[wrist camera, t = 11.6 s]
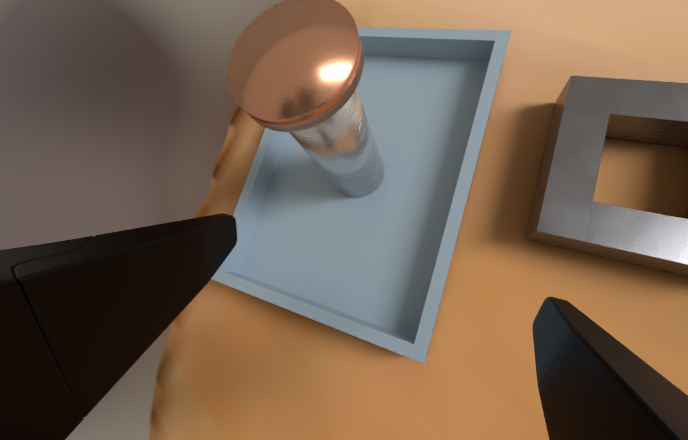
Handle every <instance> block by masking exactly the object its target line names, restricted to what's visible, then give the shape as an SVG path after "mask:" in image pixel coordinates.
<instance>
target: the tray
mask: <svg viewBox="0 0 688 440" xmlns="http://www.w3.org/2000/svg"><path fill="white" fill-rule="evenodd" d="M357 30H358V33H359V37H360V41H361V44H362V48H363V53H364V65H363V72H362V75H361V79H360V81H359V84H358V86H357V88H356V89H357V92H358V95H359V97H360V100H361V103H362V106H363V108H364V111H365V114H366V117H367V119H368V122H369V125H370V127H371V130H372V133H373V136H374V138H375V141H376V144H377V147H378V149H379V152H380V155H381V158H382V160H383V163H384V167H385V174H384V178H383V181H382V183H381V184H380V186H379V187H378V188H377V189H376V190H375V191H374V192H373V193H371V194H369V195H367V196H364V197H358V198H357V197H350V196H347V195H345V194H343V193H342V192H341V191H340V190H339V189H338V188H337V187H336V186H335V185H334V183H333V182H332V181H331V180H330V179H329V178H328V177H327V175H326V174H325V173H324V172H323V171H322V170H321V168H320V167H319V166H318V165H317V164H316V163H315V162H314V160H313V159H312V158H311V157H310V156H309V155H308V153H307V152H306V151H305V150H304V149H303V148H302V147H301V145H300V144H299V143H298V142H297V141H296V140H295V138H294V137H293V136H292V135H291V134H290V133H289V132H279V131H274V130H270V129H268V128H265V131H264V133H263V136H262V139H261V141H260V144H259V147H258V149H257V152H256V155H255V158H254V160H253V163H252V166H251V168H250V171H249V174H248V176H247V179H246V182H245V184H244V187H243V190H242V192H241V195H240V198H239V201H238V203H237V206H236V209H235V211H234V214H233V216H234V217H235V219H236V226H237V243H236V246H235V247H234V249H233V250H232V251H231V253H230V254H229V255H228V257H227V258H226V259H225V261H224V262H223V263H222V265H221V266H220V267H219V269H218V270H217V272H216V273H215V274H214V276H213V277H212V278H211V279H212V280H215V281H217V282H220V283H222V284H225V285H227V286H230V287H232V288H235V289H237V290H240V291H242V292H245V293H247V294H250V295H252V296H255V297H257V298H260V299H262V300H265V301H267V302H270V303H272V304H275V305H277V306H280V307H282V308H285V309H287V310H290V311H292V312H295V313H297V314H300V315H302V316H305V317H308V318H310V319H313V320H315V321H318V322H320V323H323V324H325V325H328V326H330V327H333V328H335V329H338V330H340V331H343V332H345V333H348V334H350V335H353V336H355V337H358V338H360V339H363V340H365V341H368V342H370V343H373V344H375V345H378V346H380V347H383V348H385V349H388V350H390V351H393V352H395V353H398V354H400V355H403V356H405V357H408V358H410V359H413V360H416V361H418V362H421V363H423V364H424V363H425V359H426V355H427V351H428V347H429V344H430V340H431V336H432V332H433V328H434V324H435V320H436V317H437V313H438V309H439V305H440V301H441V297H442V293H443V290H444V286H445V282H446V278H447V274H448V270H449V267H450V263H451V259H452V255H453V251H454V247H455V243H456V240H457V236H458V232H459V228H460V224H461V220H462V216H463V213H464V209H465V205H466V201H467V197H468V193H469V190H470V186H471V182H472V178H473V174H474V170H475V166H476V163H477V159H478V155H479V151H480V147H481V143H482V139H483V136H484V132H485V128H486V124H487V120H488V116H489V113H490V109H491V105H492V101H493V97H494V93H495V89H496V86H497V82H498V78H499V74H500V70H501V66H502V62H503V59H504V55H505V51H506V47H507V43H508V39H509V36H510V32H511V31H500V30H457V29H414V28H372V27H357Z"/></svg>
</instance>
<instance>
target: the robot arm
mask: <svg viewBox="0 0 688 440" xmlns="http://www.w3.org/2000/svg"><path fill="white" fill-rule="evenodd" d="M236 243H237V226H236V219H235V217H234V216H231V215H227V214H216V215H210V216H204V217H198V218H193V219H187V220H182V221H175V222H170V223H164V224H158V225H153V226H147V227H141V228H135V229H130V230H124V231H118V232H113V233H107V234H101V235H96V236H94V237H93V236H89V237H83V238H78V239H72V240H65V241H59V242H54V243H47V244H40V245H33V246H27V247H19V248H12V249H5V250H0V440H65V439H66V438H67V437H68V436H69V435H70V433H71V432H72V431H73V430H74V429H75V428H76V427H77V426H78V425H79V424H80V422H81V421H82V420H83V418H84V417H86V416H87V415H88V413H89V412H90V411H91V410H92V409H93V408H94V407H95V406H96V405H97V404H98V402H99V401H100V400H101V399H102V398H103V397H104V396H105V395H106V394H107V393H108V392H109V390H110V389H111V388H112V387H113V386H114V385H115V384H116V383H117V382H118V381H119V380H120V378H121V377H122V376H123V375H124V374H125V373H126V372H127V370H129V369H130V367H131V366H132V365H133V364H134V363H135V362H136V361H137V360H138V359H139V358H140V357H141V355H142V354H143V353H144V352H145V351H146V350H147V349H148V348H149V347H150V346H151V345H152V343H153V342H154V341H155V340H156V339H157V338H158V337H159V336H160V335H161V334H162V332H163V331H164V330H165V329H166V328H167V327H168V326H169V325H170V324H171V323H172V322H173V320H174V319H175V318H176V317H177V316H178V315H179V314H180V313H181V312H182V311H183V310H184V308H185V307H186V306H187V305H188V304H189V303H190V302H191V301H192V300H193V299H194V297H195V296H196V295H197V294H198V293H199V292H200V291H201V290H202V289H203V288H204V286H205V285H206V284H207V283H208V282H209V281H210V279H211V278H212V277H213V276H214V274H215V273H216V272H217V270H218V269H219V267H220V266H221V265H222V263H223V262H224V261H225V259H226V258H227V257H228V255H229V254H230V253H231V251H232V250H233V249H234V247H235V246H236ZM533 339H534V350H535V361H536V372H537V381H538V388H539V393H540V398H541V403H542V408H543V412H544V417H545V421H546V426H547V431H548V435H549V440H688V396H687V395H686V394H685V393H684V392H682V391H681V390H680V389H679V388H677V387H676V386H675V385H673V384H672V383H671V382H670V381H668V380H667V379H666V378H665V377H663V376H662V375H661V374H659V373H658V372H657V371H656V370H654V369H653V368H652V367H651V366H649V365H648V364H647V363H646V362H644V361H643V360H642V359H640V358H639V357H638V356H637V355H635V354H634V353H633V352H632V351H630V350H629V349H628V348H626V347H625V346H624V345H623V344H621V343H620V342H619V341H618V340H616V339H615V338H614V337H612V336H611V335H610V334H609V333H607V332H606V331H605V330H604V329H602V328H601V327H600V326H599V325H597V324H596V323H595V322H593V321H592V320H591V319H590V318H588V317H587V316H586V315H585V314H583V313H582V312H581V311H579V310H578V309H577V308H576V307H574V306H573V305H572V304H571V303H569V302H568V301H566V300H562V299H558V298H554V297H547V298H546V299H545V300H544V302H543V304H542V306H541V308H540V310H539V312H538V314H537V316H536V318H535V320H534V322H533Z"/></svg>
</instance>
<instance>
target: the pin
mask: <svg viewBox="0 0 688 440" xmlns="http://www.w3.org/2000/svg"><path fill="white" fill-rule="evenodd" d="M363 65H364V53H363V48H362V44H361V41H360V37H359V33H358V30H357V26H356V24H355V21H354V19H353V17H352V16H351V14H350V13H349V11H348V10H347V9H346V8H345V7H344V6H342V5H341V4H340V3H338V2H336V1H334V0H285V1H283V2H280V3H278V4H276V5H274V6H272V7H271V8H269V9H267V10H266V11H264V12H263V13H262V14H260V15H259V16H258V17H257V18H255V19H254V21H252V22H251V23H250V24H249V25H248V27H247V28H246V29H245V30H244V31H243V33H242V34H241V35H240V37H239V39H238V40H237V42H236V44H235V46H234V48H233V50H232V52H231V55H230V58H229V63H228V69H227V81H228V85H229V89H230V92H231V94H232V96H233V98H234V100H235V101H236V102H237V103H238V105H239V106H240V107H241V108H242V109H243V110H244V111H245V112H246V113H247V114H248V115H249V116H250V117H251V118H252V119H253V120H255V121H256V122H257V123H258V124H260V125H261V126H263V127H265V128H268V129H270V130H274V131H279V132H289V133H290V134H291V135H292V136H293V137H294V138H295V140H296V141H297V142H298V143H299V144H300V145H301V147H302V148H303V149H304V150H305V151H306V152H307V153H308V155H309V156H310V157H311V158H312V159H313V160H314V162H315V163H316V164H317V165H318V166H319V167H320V168H321V170H322V171H323V172H324V173H325V174H326V175H327V177H328V178H329V179H330V180H331V181H332V182H333V183H334V185H335V186H336V187H337V188H338V189H339V190H340V191H341V192H342V193H343V194H345V195H347V196H350V197H357V198H358V197H364V196H367V195H369V194H371V193H373V192H374V191H375V190H376V189H377V188H378V187H379V186H380V184H381V183H382V181H383V178H384V174H385V167H384V163H383V160H382V158H381V155H380V152H379V149H378V147H377V144H376V141H375V138H374V136H373V133H372V130H371V127H370V125H369V122H368V119H367V117H366V114H365V111H364V108H363V106H362V103H361V100H360V97H359V95H358V92H357V89H356V88H357V86H358V84H359V81H360V79H361V75H362V72H363Z"/></svg>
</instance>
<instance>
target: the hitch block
mask: <svg viewBox="0 0 688 440" xmlns="http://www.w3.org/2000/svg"><path fill="white" fill-rule="evenodd" d="M605 137H610V138H618V139H627V140H635V141H643V142H652V143H660V144H668V145H677V146H685V147H688V83H674V82H659V81H644V80H628V79H613V78H598V77H582V76H571V77H570V78H569V80H568V82H567V84H566V85H565V87H564V89H563V90H562V92H561V94H560V95H559V97H558V99H557V101H556V105H555V110H554V114H553V119H552V123H551V127H550V132H549V136H548V141H547V145H546V149H545V154H544V158H543V163H542V167H541V172H540V176H539V180H538V185H537V189H536V194H535V198H534V202H533V207H532V211H531V216H530V220H529V224H528V229H527V233H526V238H525V239H529V240H533V241H537V242H542V243H546V244H550V245H555V246H559V247H563V248H568V249H572V250H576V251H581V252H585V253H589V254H594V255H598V256H602V257H606V258H611V259H615V260H619V261H624V262H628V263H632V264H637V265H641V266H645V267H650V268H654V269H658V270H663V271H667V272H671V273H675V274H680V275H684V276H688V219H685V218H679V217H674V216H668V215H663V214H657V213H652V212H646V211H641V210H635V209H630V208H624V207H619V206H613V205H608V204H602V203H597V202H593V196H594V191H595V186H596V181H597V176H598V171H599V166H600V161H601V156H602V151H603V146H604V141H605Z"/></svg>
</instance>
